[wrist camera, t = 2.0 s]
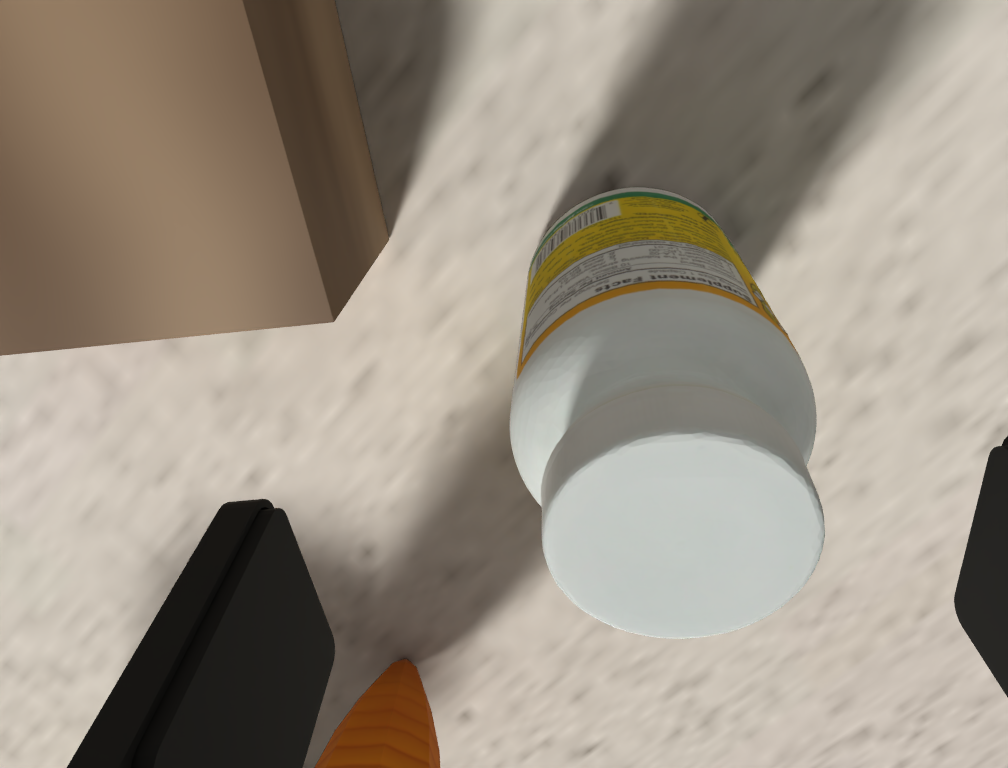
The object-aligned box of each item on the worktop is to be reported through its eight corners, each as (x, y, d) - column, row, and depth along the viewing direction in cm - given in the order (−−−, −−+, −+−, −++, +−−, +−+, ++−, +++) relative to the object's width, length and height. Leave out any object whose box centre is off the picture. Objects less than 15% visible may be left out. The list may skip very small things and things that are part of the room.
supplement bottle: (545, 166, 17) (524, 349, 9) (765, 201, 17) (954, 417, 9) (513, 361, 20) (473, 642, 11) (703, 391, 20) (800, 693, 11)
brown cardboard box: (238, -423, 12) (61, -636, 8) (389, 239, 18) (333, 322, 14) (-331, -277, 14) (-730, -388, 10) (-25, 287, 20) (-190, 374, 16)
